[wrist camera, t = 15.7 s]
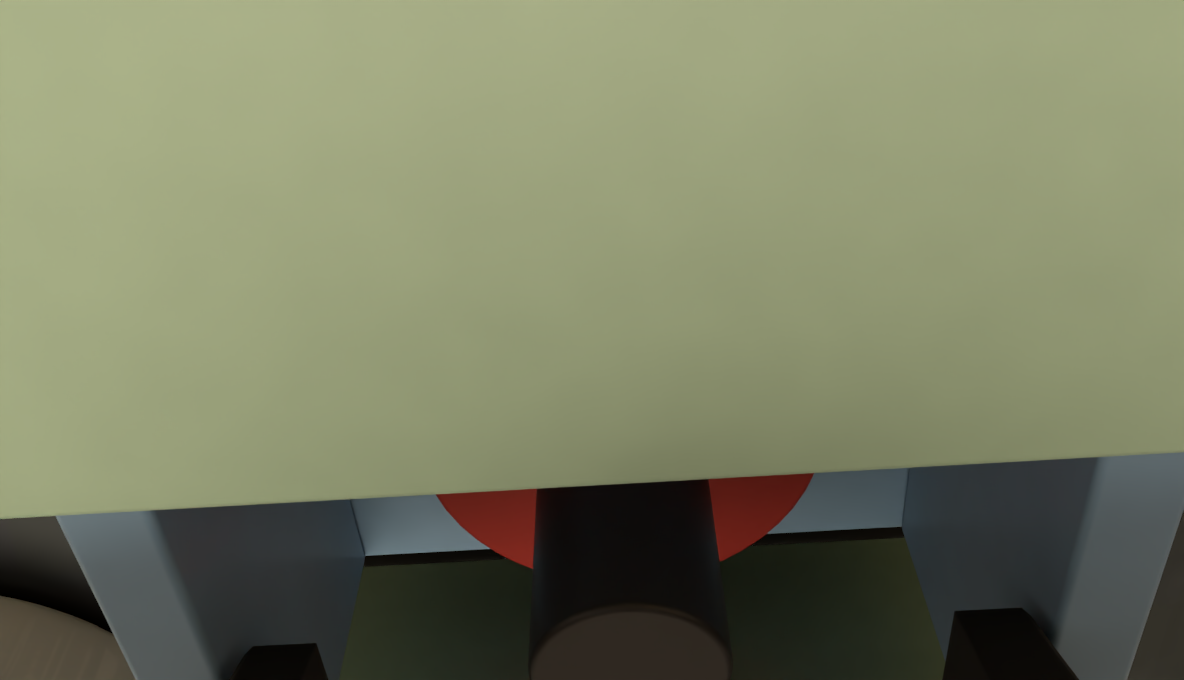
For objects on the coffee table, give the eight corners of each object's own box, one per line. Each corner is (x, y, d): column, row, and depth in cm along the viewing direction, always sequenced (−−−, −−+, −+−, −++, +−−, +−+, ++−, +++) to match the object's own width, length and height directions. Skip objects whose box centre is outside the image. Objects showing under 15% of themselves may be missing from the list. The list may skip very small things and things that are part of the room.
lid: (829, 229, 12) (915, 469, 9) (809, 542, 15) (869, 809, 12) (388, 257, 13) (321, 504, 9) (451, 561, 16) (417, 829, 12)
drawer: (935, 744, 20) (1044, 1115, 15) (364, 771, 20) (298, 1142, 16) (1134, -335, 10) (1607, -236, 6) (34, -246, 11) (-408, -82, 6)
